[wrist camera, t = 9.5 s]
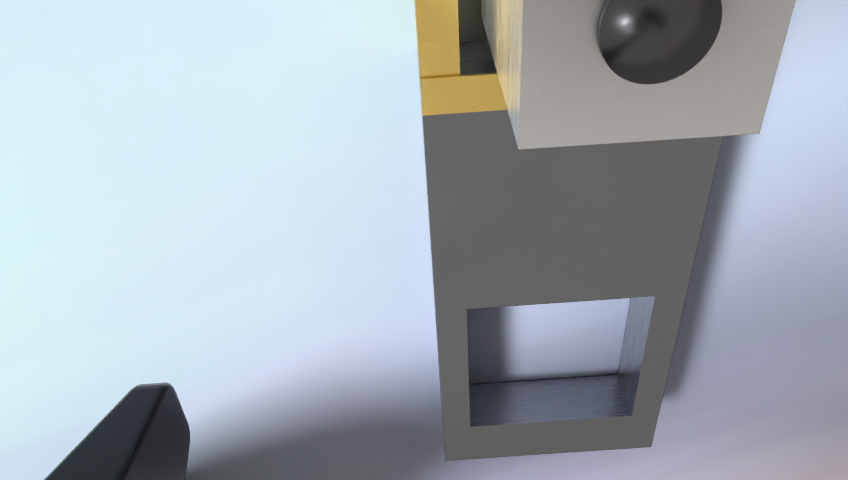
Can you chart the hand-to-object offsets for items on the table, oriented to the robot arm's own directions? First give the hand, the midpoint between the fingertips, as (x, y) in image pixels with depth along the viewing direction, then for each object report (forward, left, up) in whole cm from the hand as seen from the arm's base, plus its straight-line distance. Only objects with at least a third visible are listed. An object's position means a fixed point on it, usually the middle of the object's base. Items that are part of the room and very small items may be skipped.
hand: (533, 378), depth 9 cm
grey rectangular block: (+2, -3, -13) cm, 13 cm away
